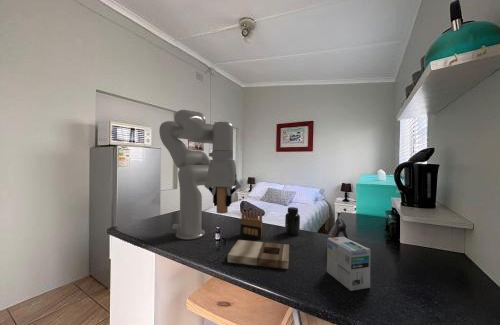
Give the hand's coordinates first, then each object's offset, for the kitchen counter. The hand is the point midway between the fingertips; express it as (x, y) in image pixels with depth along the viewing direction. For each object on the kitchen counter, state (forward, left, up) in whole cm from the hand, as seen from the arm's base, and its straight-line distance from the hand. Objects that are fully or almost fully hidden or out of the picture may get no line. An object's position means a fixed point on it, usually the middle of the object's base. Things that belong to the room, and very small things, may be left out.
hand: (222, 205), depth 80 cm
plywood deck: (+14, 0, -17) cm, 23 cm away
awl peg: (0, 0, -3) cm, 3 cm away
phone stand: (+43, +11, -18) cm, 48 cm away
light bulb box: (+41, -9, -18) cm, 46 cm away
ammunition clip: (+7, +19, -18) cm, 27 cm away
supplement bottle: (+25, +28, -18) cm, 42 cm away
